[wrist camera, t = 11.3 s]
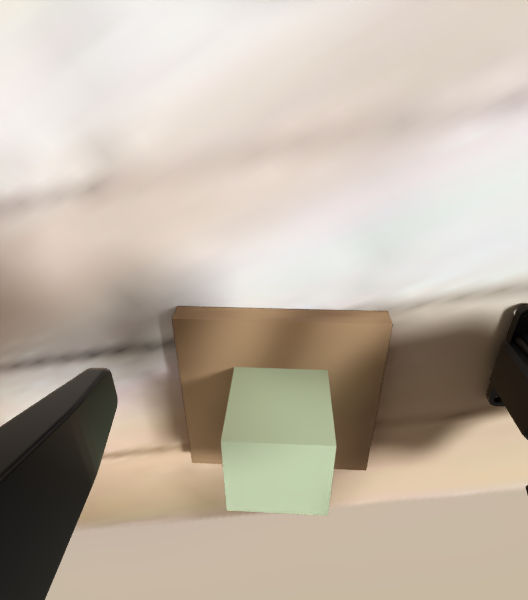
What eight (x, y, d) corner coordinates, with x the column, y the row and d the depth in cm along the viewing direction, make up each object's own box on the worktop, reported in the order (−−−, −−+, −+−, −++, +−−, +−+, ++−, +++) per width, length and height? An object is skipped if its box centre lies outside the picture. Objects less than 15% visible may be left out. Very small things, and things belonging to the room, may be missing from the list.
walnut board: (387, 311, 22) (392, 324, 21) (363, 454, 27) (366, 470, 26) (177, 306, 22) (171, 318, 21) (195, 447, 28) (192, 462, 27)
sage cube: (327, 370, 22) (336, 446, 18) (321, 435, 25) (327, 515, 20) (234, 367, 22) (220, 441, 18) (237, 431, 25) (226, 510, 21)
